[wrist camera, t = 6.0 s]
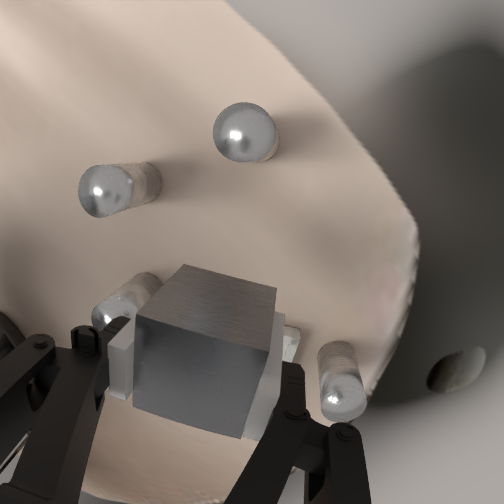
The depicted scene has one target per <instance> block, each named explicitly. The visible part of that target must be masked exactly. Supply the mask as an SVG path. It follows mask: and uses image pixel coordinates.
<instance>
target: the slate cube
mask: <svg viewBox="0 0 504 504" xmlns="http://www.w3.org/2000/svg"><path fill="white" fill-rule="evenodd" d="M276 291H277V288H274V287H270V286H266V285H262V284H258V283H254V282H250V281H246V280H243V279H239V278H235V277H231V276H227V275H223V274H219V273H215V272H212V271H208V270H204V269H200V268H197V267H193V266H189V265H185V264H184V265H183V266H182V267H181V268H180V269H179V270H178V271H177V272H176V273H175V274H174V275H173V276H172V277H171V278H170V279H169V280H168V281H167V282H166V283H165V284H164V285H163V286H162V287H161V288H160V289H159V290H158V291H157V292H156V293H155V294H154V295H153V296H152V297H151V298H150V300H149V301H148V302H147V303H146V304H145V305H144V306H143V307H142V308H141V309H140V310H139V311H138V312H137V313H136V317H135V334H134V365H133V407H136V408H138V409H141V410H144V411H146V412H149V413H152V414H155V415H158V416H161V417H164V418H167V419H170V420H173V421H176V422H179V423H182V424H186V425H189V426H192V427H196V428H199V429H203V430H206V431H210V432H214V433H218V434H221V435H225V436H229V437H234V438H238V439H241V437H242V434H243V431H244V428H245V424H246V421H247V418H248V415H249V412H250V409H251V405H252V402H253V399H254V396H255V393H256V390H257V387H258V384H259V381H260V378H261V376H262V374H263V371H264V368H265V365H266V362H267V358H268V355H269V352H270V344H271V336H272V327H273V318H274V309H275V300H276Z"/></svg>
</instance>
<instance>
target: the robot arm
mask: <svg viewBox="0 0 504 504" xmlns="http://www.w3.org/2000/svg"><path fill="white" fill-rule="evenodd" d="M135 317H136V315H135V316H134V317H133V318H132V319H130V318H127V317H124V316H119V317H117V318H114V319H112V320H111V321H110V322H109V323H108V324H107V325H106V326H105V327H104V328H103V330H101V331H99V330H98V329H97V328H95V327H92V326H86V325H83V326H78V327H75V328H73V329H72V330H71V343H72V349H66V348H61V347H56V346H55V341H54V340H53V338H52V337H50V336H49V335H46V334H35V335H32V336H30V337H29V338H27V339H26V340H25V339H24V337H23V336H22V334H21V333H20V332H19V330H18V329H17V328H16V326H15V325H14V324H13V323H12V322H11V321H10V320H9V319H8V318H7V317H6V316H4V315H3V314H2V313H0V466H1V464H2V463H3V462H4V461H5V459H6V458H7V457H8V456H9V454H10V453H11V452H12V451H13V449H14V448H15V447H16V446H17V445H18V443H19V442H20V441H21V440H22V438H23V437H24V436H25V435H26V434H27V432H28V431H29V430H30V429H31V428H32V430H31V432H30V434H29V437H28V439H27V441H26V444H25V446H24V448H23V451H22V453H21V456H20V458H19V461H18V463H17V466H16V468H15V471H14V474H13V477H12V479H11V481H10V482H9V483H3V484H1V485H0V504H78V500H79V496H80V491H81V487H82V482H83V478H84V474H85V470H86V465H87V461H88V457H89V454H90V450H91V446H92V442H93V438H94V435H95V431H96V427H97V424H98V420H99V417H100V414H101V410H102V407H103V403H104V400H105V395H104V392H105V390H106V389H107V388H108V386H109V395H111V396H114V397H116V398H119V399H121V400H124V401H126V399H127V398H128V396H129V395H130V393H131V392H132V390H133V365H134V334H135ZM284 318H285V314H283V313H279V312H275V311H274V318H273V327H272V336H271V344H270V352H269V355H268V358H267V362H266V365H265V368H264V371H263V374H262V376H261V378H260V381H259V384H258V387H257V390H256V393H255V396H254V399H253V402H252V405H251V409H250V412H249V415H248V418H247V421H246V424H245V429H244V434H243V437H244V438H248V439H253V440H257V441H259V443H258V445H257V447H256V449H255V450H254V452H253V454H252V456H251V458H250V459H249V461H248V463H247V465H246V466H245V468H244V470H243V472H242V473H241V475H240V477H239V479H238V480H237V482H236V484H235V485H234V487H233V489H232V490H231V492H230V494H229V495H228V497H227V499H226V500H225V502H224V504H277V502H278V500H279V498H280V495H281V493H282V491H283V489H284V486H285V484H286V482H287V479H288V477H289V474H290V472H291V469H292V467H293V466H295V467H297V468H300V469H302V470H305V484H304V504H371V497H370V490H369V482H368V475H367V469H366V462H365V456H364V450H363V444H362V438H361V435H360V432H359V431H358V430H357V429H356V428H355V427H354V426H352V425H350V424H348V423H344V422H337V423H334V424H332V425H331V426H330V427H327V426H325V425H322V424H320V423H318V422H316V421H314V420H313V419H312V418H311V417H310V413H309V411H308V410H307V409H306V398H305V372H304V370H303V369H302V367H301V365H300V364H295V363H291V362H286V361H282V354H283V337H284ZM32 426H33V427H32Z"/></svg>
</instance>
